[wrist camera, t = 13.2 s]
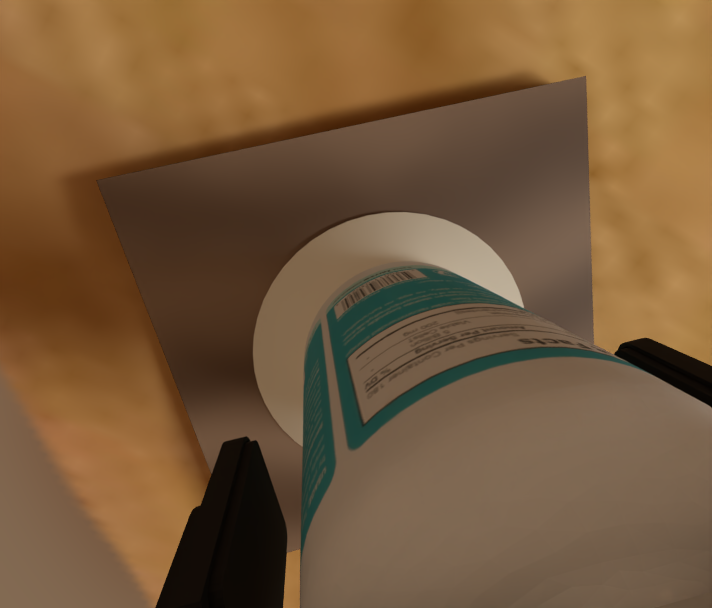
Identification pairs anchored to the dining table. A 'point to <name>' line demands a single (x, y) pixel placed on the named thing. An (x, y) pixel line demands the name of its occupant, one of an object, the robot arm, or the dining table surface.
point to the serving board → (349, 246)
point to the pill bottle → (490, 458)
